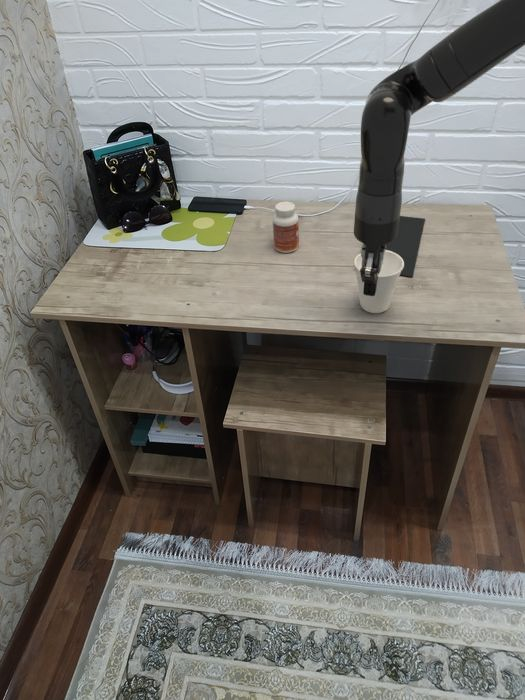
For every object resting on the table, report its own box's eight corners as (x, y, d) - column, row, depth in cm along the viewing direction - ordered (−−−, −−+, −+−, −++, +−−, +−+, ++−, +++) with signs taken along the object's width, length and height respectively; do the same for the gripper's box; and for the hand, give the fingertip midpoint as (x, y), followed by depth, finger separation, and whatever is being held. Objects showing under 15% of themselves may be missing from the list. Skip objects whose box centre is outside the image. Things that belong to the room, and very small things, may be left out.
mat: (412, 277, 128) (412, 276, 128) (355, 269, 132) (355, 268, 132) (425, 219, 146) (425, 218, 146) (374, 214, 150) (374, 213, 150)
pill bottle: (302, 251, 139) (302, 210, 131) (278, 255, 138) (276, 214, 130) (294, 238, 143) (293, 197, 136) (270, 242, 142) (268, 202, 135)
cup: (400, 320, 118) (407, 276, 110) (352, 320, 119) (355, 276, 111) (395, 291, 125) (401, 248, 118) (350, 291, 126) (352, 248, 118)
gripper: (394, 234, 91) (384, 318, 102) (405, 194, 100) (394, 276, 111) (347, 228, 92) (342, 311, 104) (362, 190, 102) (356, 271, 113)
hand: (369, 293), depth 108 cm, fingers closed
